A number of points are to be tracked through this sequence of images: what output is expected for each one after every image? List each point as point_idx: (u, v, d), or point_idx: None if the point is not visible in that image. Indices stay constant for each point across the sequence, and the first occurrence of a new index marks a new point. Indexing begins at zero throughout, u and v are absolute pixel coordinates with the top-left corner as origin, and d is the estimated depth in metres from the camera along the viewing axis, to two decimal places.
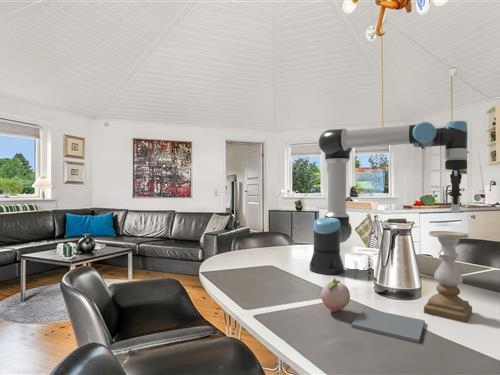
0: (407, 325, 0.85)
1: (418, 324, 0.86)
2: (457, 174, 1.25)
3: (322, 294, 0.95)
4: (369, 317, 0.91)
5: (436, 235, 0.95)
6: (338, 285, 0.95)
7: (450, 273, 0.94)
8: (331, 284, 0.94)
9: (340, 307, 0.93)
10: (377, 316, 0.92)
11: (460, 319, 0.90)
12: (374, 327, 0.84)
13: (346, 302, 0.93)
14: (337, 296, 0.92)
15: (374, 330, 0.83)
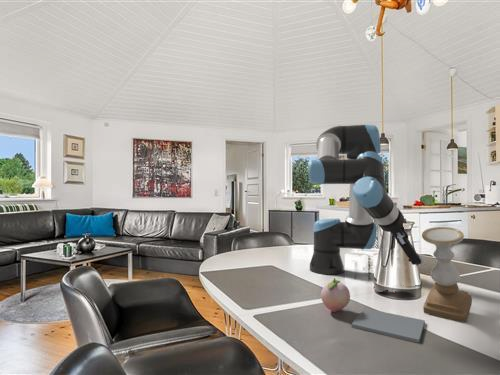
0: (407, 325, 0.85)
1: (418, 324, 0.86)
2: (405, 242, 0.95)
3: (322, 294, 0.95)
4: (369, 317, 0.91)
5: (429, 241, 0.90)
6: (338, 285, 0.95)
7: (447, 275, 0.91)
8: (331, 284, 0.94)
9: (340, 307, 0.93)
10: (377, 316, 0.92)
11: (460, 319, 0.90)
12: (374, 327, 0.84)
13: (346, 302, 0.93)
14: (337, 296, 0.92)
15: (374, 330, 0.83)
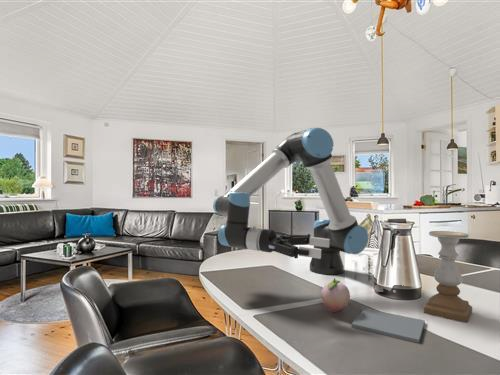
0: (407, 325, 0.85)
1: (418, 324, 0.86)
2: (272, 245, 1.01)
3: (322, 294, 0.95)
4: (369, 317, 0.91)
5: (436, 235, 0.95)
6: (338, 285, 0.95)
7: (450, 273, 0.94)
8: (331, 284, 0.94)
9: (340, 307, 0.93)
10: (377, 316, 0.92)
11: (460, 319, 0.90)
12: (374, 327, 0.84)
13: (346, 302, 0.93)
14: (337, 296, 0.92)
15: (374, 330, 0.83)
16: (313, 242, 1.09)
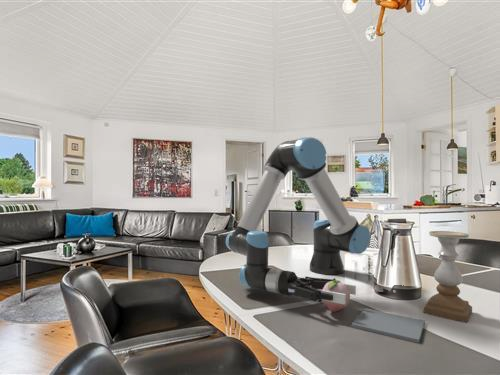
0: (407, 325, 0.85)
1: (418, 324, 0.86)
2: (292, 288, 0.97)
3: None
4: (369, 317, 0.91)
5: (436, 235, 0.95)
6: (338, 285, 0.95)
7: (450, 273, 0.94)
8: (331, 284, 0.94)
9: (340, 307, 0.93)
10: (377, 316, 0.92)
11: (460, 319, 0.90)
12: (374, 327, 0.84)
13: (346, 302, 0.93)
14: None
15: (374, 330, 0.83)
16: None
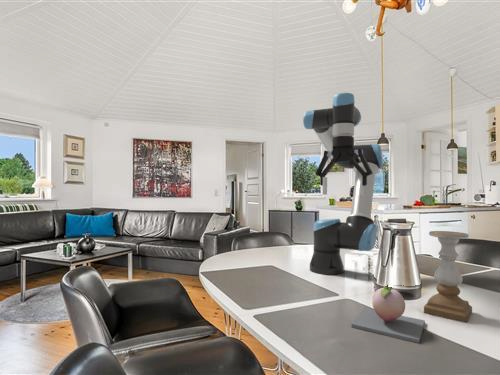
0: (407, 325, 0.85)
1: (418, 324, 0.86)
2: (362, 153, 1.15)
3: (375, 302, 0.86)
4: (369, 317, 0.91)
5: (436, 235, 0.95)
6: (392, 292, 0.86)
7: (450, 273, 0.94)
8: (385, 291, 0.86)
9: (396, 317, 0.84)
10: (377, 316, 0.92)
11: (460, 319, 0.90)
12: (374, 327, 0.84)
13: (402, 311, 0.84)
14: (393, 304, 0.84)
15: (374, 330, 0.83)
16: (325, 180, 1.21)
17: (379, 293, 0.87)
